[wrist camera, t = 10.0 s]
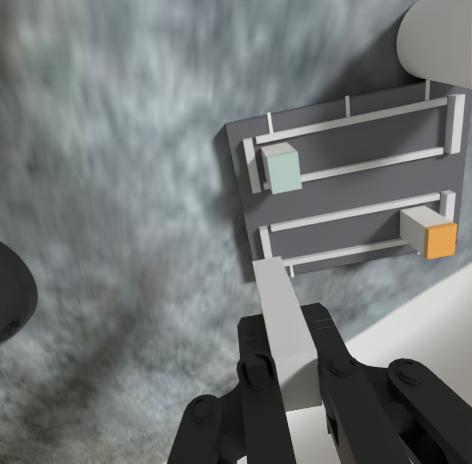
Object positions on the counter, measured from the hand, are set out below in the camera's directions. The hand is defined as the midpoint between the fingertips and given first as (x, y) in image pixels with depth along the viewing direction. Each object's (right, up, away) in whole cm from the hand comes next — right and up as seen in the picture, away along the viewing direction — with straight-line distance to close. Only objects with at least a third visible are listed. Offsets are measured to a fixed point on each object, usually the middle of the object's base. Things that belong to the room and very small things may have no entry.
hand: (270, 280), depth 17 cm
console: (+10, +8, +16) cm, 20 cm away
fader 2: (+16, +4, +16) cm, 23 cm away
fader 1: (+2, +9, +13) cm, 16 cm away
